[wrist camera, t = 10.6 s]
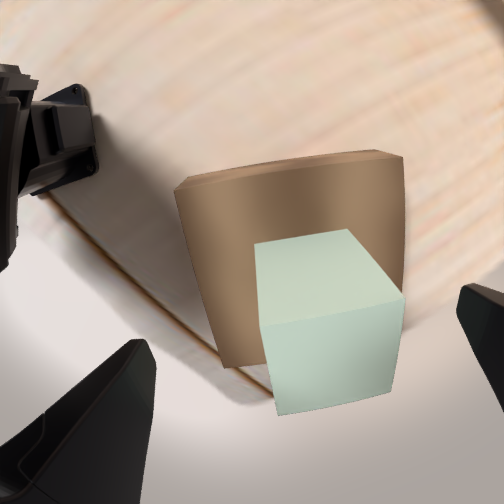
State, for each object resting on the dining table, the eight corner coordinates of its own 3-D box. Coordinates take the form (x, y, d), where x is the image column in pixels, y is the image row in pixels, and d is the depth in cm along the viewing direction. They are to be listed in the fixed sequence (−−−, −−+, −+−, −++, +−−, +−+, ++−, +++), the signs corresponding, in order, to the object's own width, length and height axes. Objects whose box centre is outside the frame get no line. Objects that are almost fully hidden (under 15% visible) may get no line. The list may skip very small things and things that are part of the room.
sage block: (268, 321, 18) (277, 415, 12) (254, 243, 16) (259, 326, 10) (349, 306, 18) (390, 391, 11) (347, 228, 16) (405, 298, 9)
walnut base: (226, 332, 23) (224, 368, 20) (188, 177, 18) (173, 190, 15) (377, 306, 23) (396, 336, 19) (374, 149, 18) (402, 157, 14)
